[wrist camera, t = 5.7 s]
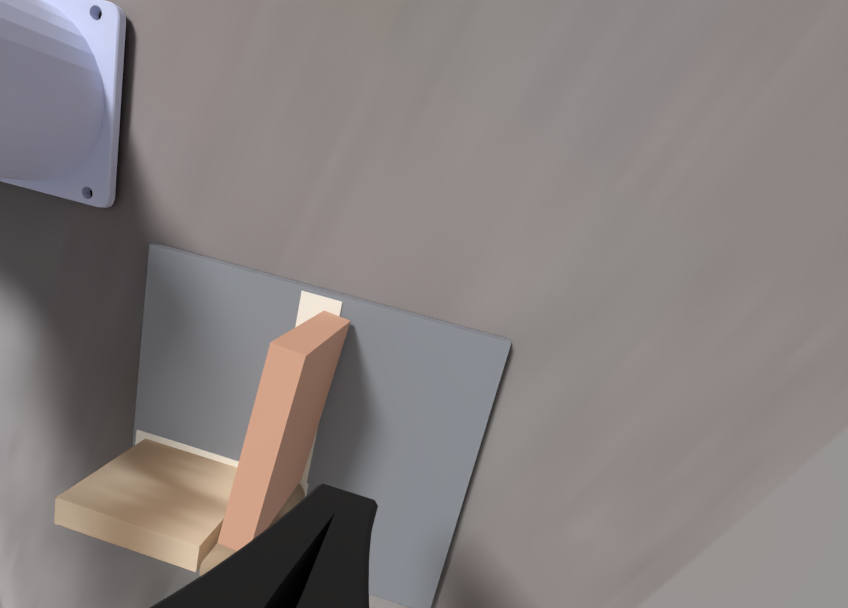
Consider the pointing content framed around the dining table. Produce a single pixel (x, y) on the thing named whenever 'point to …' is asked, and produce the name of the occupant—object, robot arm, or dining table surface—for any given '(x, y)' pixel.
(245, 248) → the dining table surface
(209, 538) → the fence fixed
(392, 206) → the dining table surface
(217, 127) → the dining table surface
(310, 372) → the tan flat block
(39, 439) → the dining table surface
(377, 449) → the card
